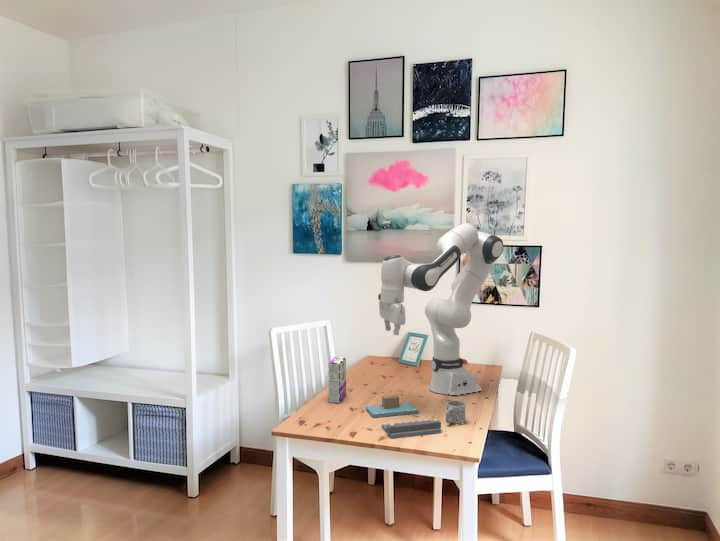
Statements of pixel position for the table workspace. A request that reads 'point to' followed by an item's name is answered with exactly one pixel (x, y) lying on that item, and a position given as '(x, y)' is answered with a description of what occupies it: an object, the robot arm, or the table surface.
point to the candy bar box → (337, 379)
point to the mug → (455, 412)
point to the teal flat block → (391, 407)
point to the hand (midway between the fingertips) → (392, 332)
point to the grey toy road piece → (412, 428)
